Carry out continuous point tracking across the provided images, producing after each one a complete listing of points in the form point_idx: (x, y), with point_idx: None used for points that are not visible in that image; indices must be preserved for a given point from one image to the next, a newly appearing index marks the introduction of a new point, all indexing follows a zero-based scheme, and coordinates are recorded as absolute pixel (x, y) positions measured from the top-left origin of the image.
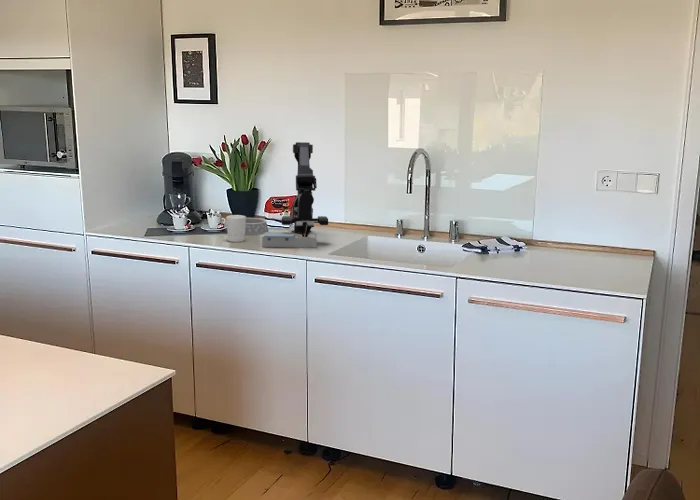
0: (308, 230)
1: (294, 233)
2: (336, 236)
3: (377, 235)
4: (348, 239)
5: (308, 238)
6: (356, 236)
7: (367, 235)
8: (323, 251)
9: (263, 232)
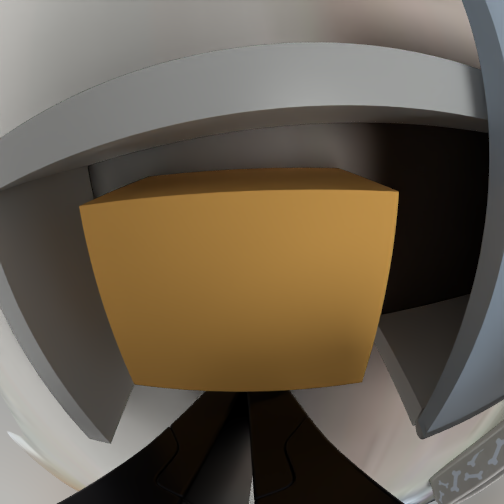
0: (130, 487)
1: (460, 383)
2: None
3: (28, 454)
4: (47, 435)
5: (73, 105)
6: (63, 463)
7: (48, 462)
8: (13, 16)
9: (464, 456)
